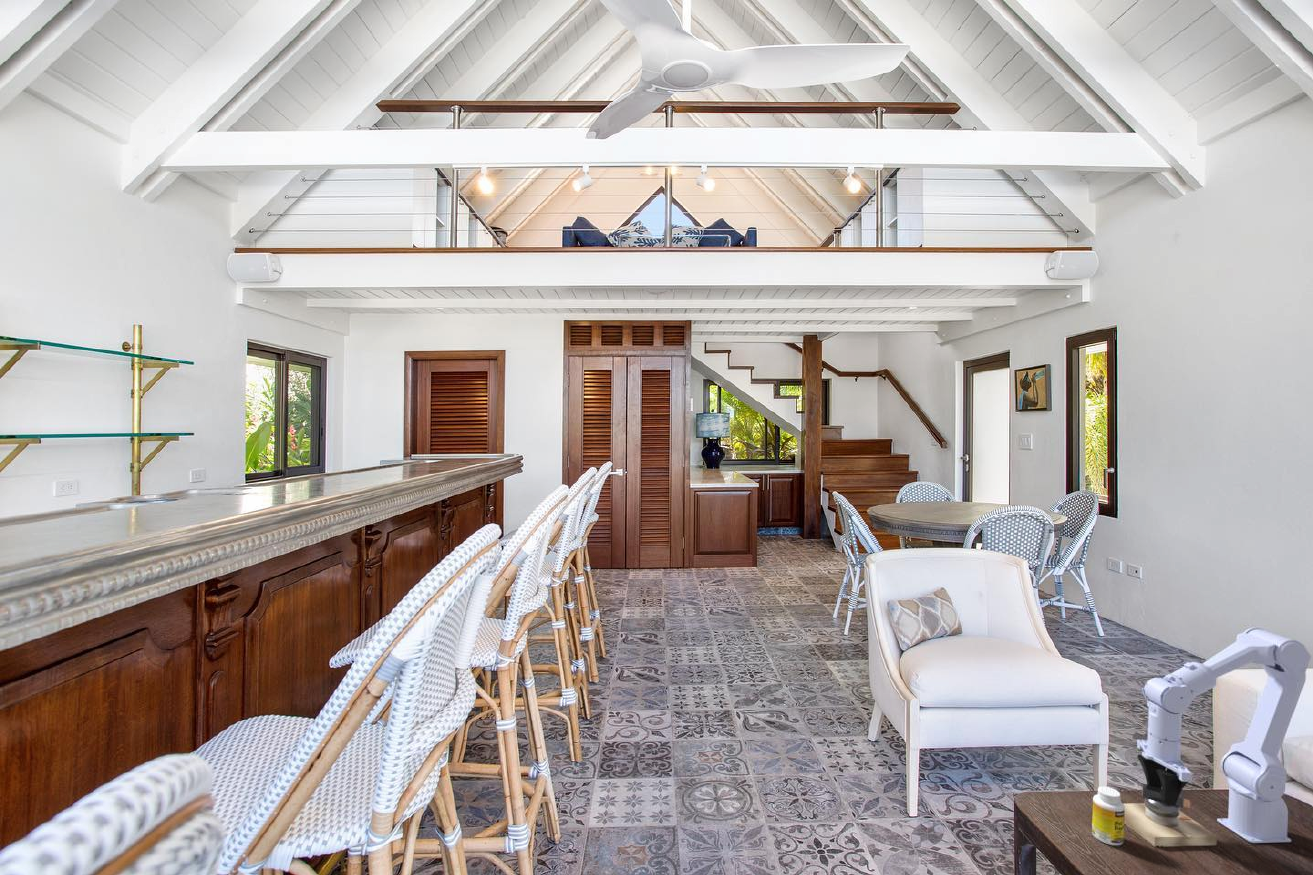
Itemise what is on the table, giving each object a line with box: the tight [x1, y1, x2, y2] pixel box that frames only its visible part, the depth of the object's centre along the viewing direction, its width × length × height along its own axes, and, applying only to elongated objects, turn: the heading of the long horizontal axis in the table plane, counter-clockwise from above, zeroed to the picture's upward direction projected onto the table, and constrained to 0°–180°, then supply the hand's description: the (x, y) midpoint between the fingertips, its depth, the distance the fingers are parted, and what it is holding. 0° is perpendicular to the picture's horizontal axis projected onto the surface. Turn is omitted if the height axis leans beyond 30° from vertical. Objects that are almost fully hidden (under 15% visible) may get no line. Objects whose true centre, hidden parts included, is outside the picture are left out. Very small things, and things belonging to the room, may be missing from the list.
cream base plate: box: [1123, 802, 1218, 848], centre depth 141 cm, size 14×12×4 cm
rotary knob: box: [1141, 782, 1191, 817], centre depth 141 cm, size 6×8×4 cm
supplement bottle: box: [1091, 786, 1125, 846], centre depth 137 cm, size 6×6×10 cm
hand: (1161, 796), depth 141 cm, fingers closed on rotary knob, 4 cm apart
